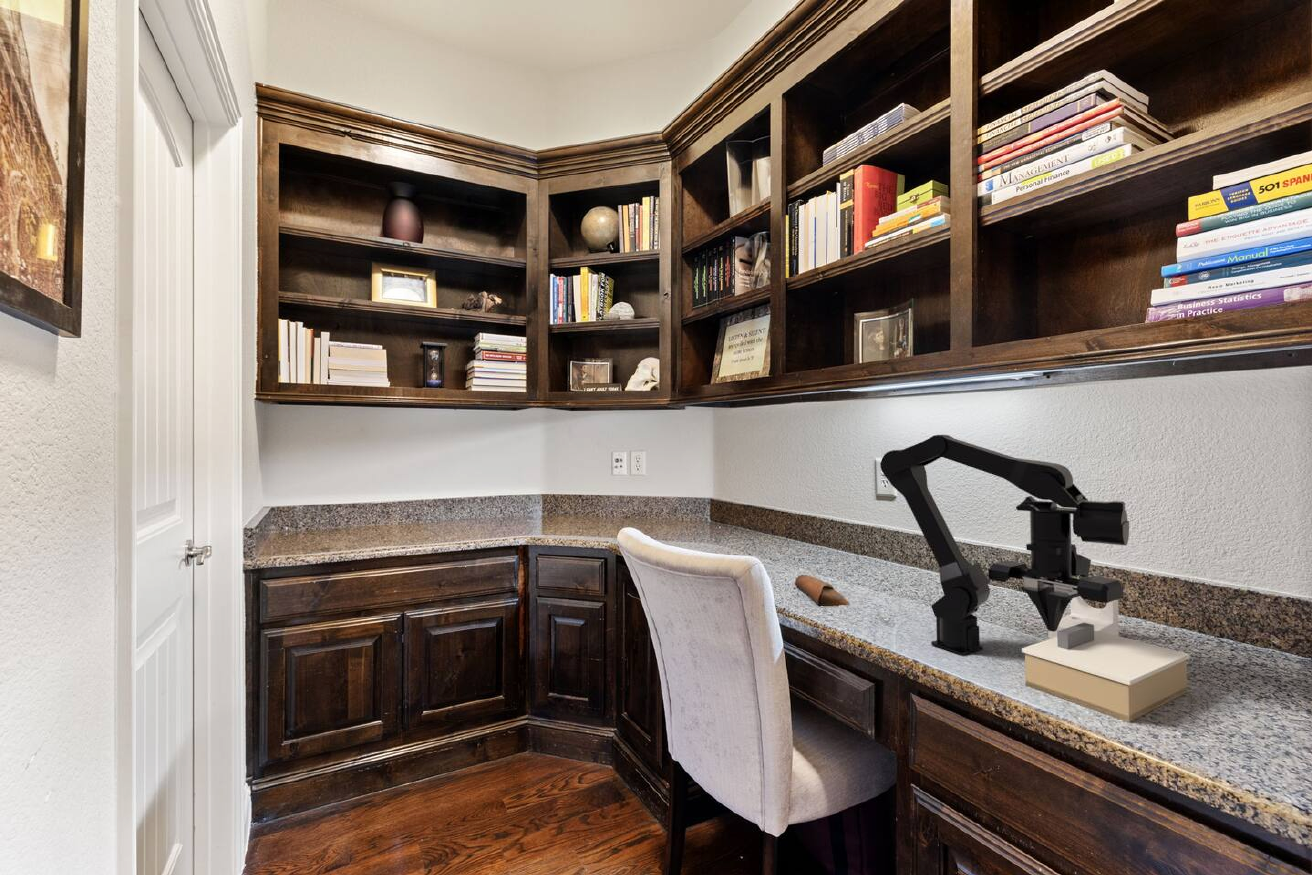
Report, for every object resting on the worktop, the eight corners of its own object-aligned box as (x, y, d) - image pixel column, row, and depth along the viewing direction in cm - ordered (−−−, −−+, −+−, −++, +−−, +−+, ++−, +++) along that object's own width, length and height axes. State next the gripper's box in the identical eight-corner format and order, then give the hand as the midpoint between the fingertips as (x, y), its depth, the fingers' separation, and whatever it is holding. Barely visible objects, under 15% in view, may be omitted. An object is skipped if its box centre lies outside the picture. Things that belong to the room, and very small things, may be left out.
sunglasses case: (853, 605, 140) (838, 581, 139) (828, 621, 139) (813, 597, 139) (825, 585, 158) (812, 564, 157) (803, 600, 157) (790, 578, 157)
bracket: (1076, 628, 122) (1075, 591, 122) (1118, 638, 116) (1118, 599, 116) (1048, 642, 114) (1048, 603, 114) (1092, 653, 108) (1091, 612, 108)
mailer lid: (1022, 652, 95) (1021, 632, 95) (1084, 630, 104) (1083, 613, 104) (1129, 685, 83) (1129, 663, 83) (1190, 657, 92) (1189, 637, 92)
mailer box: (1025, 685, 95) (1025, 654, 95) (1085, 662, 104) (1085, 633, 104) (1128, 722, 83) (1128, 686, 83) (1187, 692, 92) (1186, 659, 92)
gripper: (1139, 541, 97) (1141, 637, 97) (1021, 526, 113) (1023, 609, 113) (1104, 549, 91) (1106, 651, 91) (985, 532, 108) (987, 619, 108)
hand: (1052, 630), depth 101 cm, fingers closed
